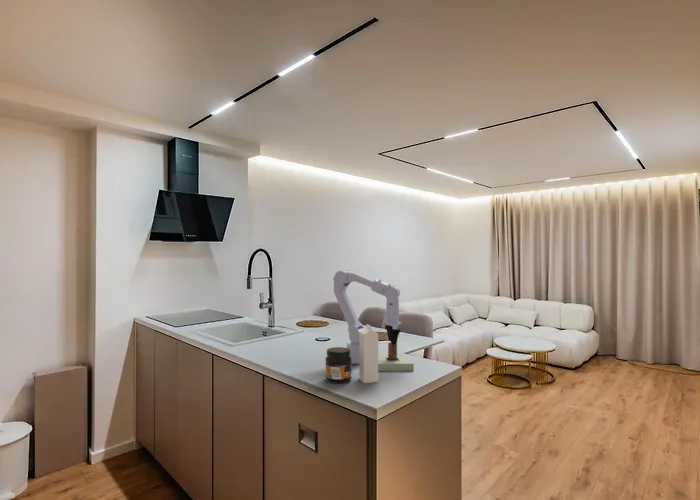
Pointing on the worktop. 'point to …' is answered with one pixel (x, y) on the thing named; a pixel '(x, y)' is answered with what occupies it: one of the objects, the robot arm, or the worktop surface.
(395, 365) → the socket block
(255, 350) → the worktop surface
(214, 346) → the worktop surface
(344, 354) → the supplement container
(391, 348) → the peg
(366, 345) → the milk
